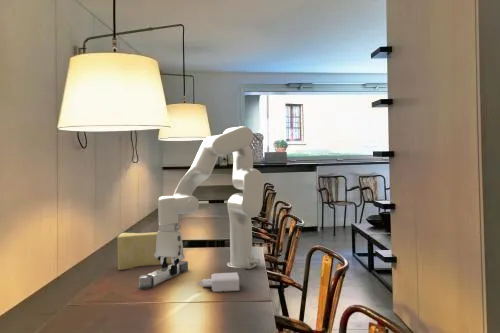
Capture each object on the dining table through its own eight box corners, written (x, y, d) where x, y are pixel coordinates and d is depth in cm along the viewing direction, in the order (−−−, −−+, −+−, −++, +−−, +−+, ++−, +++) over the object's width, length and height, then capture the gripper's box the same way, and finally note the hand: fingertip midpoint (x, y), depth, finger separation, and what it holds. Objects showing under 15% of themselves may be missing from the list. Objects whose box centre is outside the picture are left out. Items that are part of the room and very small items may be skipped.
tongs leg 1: (149, 285, 153) (149, 275, 153) (144, 284, 154) (144, 274, 154) (183, 269, 174) (183, 261, 174) (179, 269, 175) (178, 260, 175)
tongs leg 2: (155, 285, 152) (155, 276, 152) (150, 285, 153) (150, 275, 153) (188, 270, 173) (187, 261, 173) (183, 269, 174) (183, 261, 174)
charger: (197, 286, 156) (237, 284, 157) (196, 294, 146) (239, 291, 148) (196, 273, 156) (237, 271, 157) (196, 280, 146) (239, 278, 148)
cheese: (172, 262, 190) (171, 229, 190) (170, 268, 181) (169, 233, 180) (122, 265, 188) (121, 231, 188) (117, 270, 178) (116, 235, 178)
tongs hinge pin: (154, 286, 152) (154, 275, 152) (146, 290, 148) (146, 278, 148) (144, 285, 154) (144, 274, 154) (136, 288, 150) (136, 277, 150)
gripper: (191, 227, 164) (192, 273, 165) (156, 225, 171) (157, 270, 171) (181, 230, 157) (182, 279, 158) (145, 228, 164) (146, 274, 164)
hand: (169, 273), depth 165 cm, fingers open, 3 cm apart
